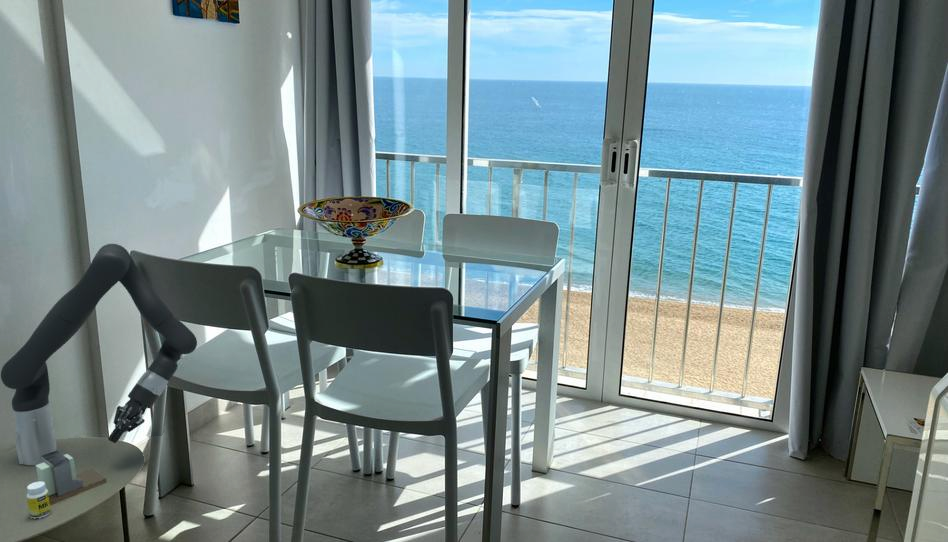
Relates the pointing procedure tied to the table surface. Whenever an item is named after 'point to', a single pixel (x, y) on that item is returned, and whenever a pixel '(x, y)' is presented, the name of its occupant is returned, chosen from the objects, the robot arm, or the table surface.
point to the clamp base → (69, 477)
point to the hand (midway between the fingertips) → (111, 441)
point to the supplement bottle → (38, 500)
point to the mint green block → (47, 476)
